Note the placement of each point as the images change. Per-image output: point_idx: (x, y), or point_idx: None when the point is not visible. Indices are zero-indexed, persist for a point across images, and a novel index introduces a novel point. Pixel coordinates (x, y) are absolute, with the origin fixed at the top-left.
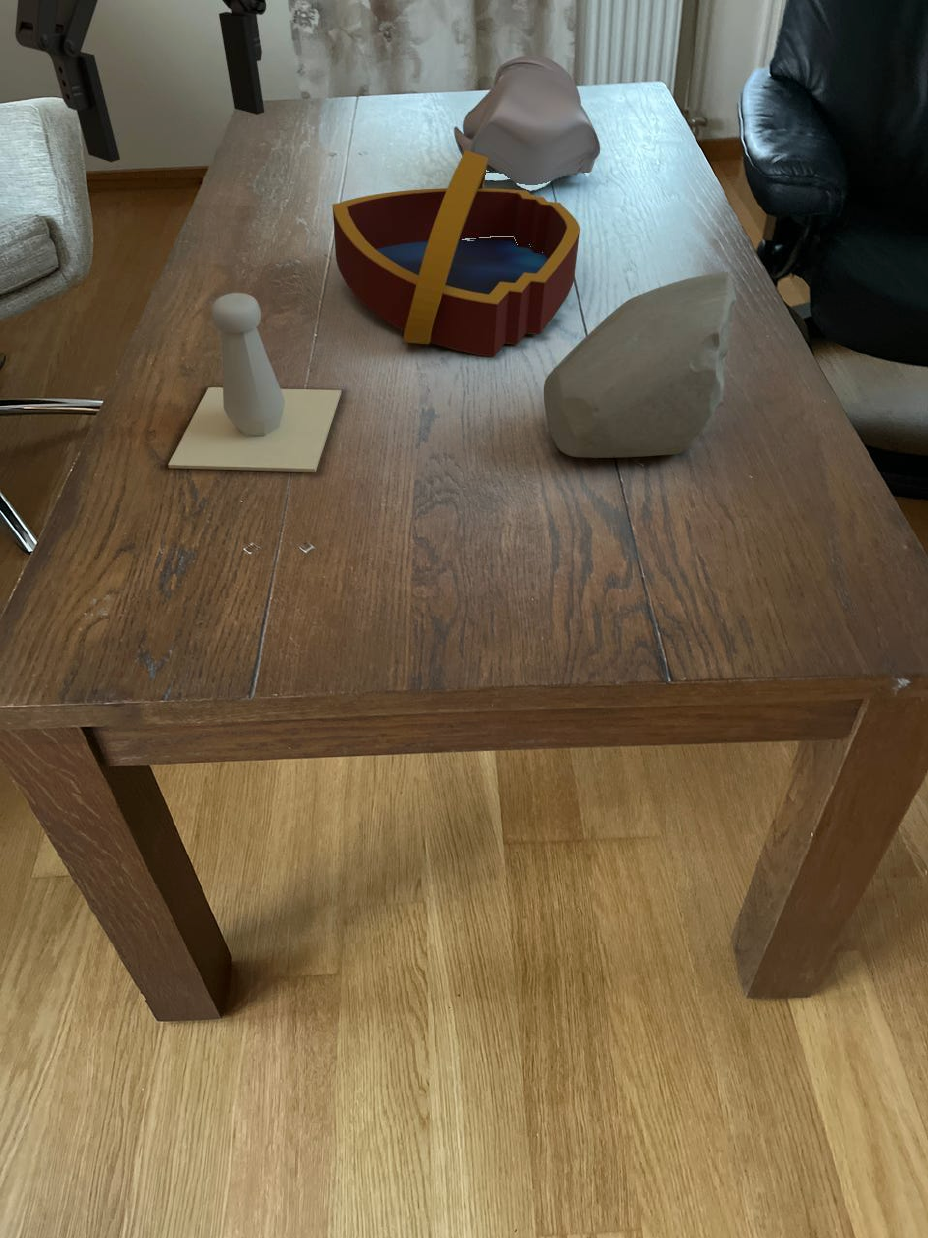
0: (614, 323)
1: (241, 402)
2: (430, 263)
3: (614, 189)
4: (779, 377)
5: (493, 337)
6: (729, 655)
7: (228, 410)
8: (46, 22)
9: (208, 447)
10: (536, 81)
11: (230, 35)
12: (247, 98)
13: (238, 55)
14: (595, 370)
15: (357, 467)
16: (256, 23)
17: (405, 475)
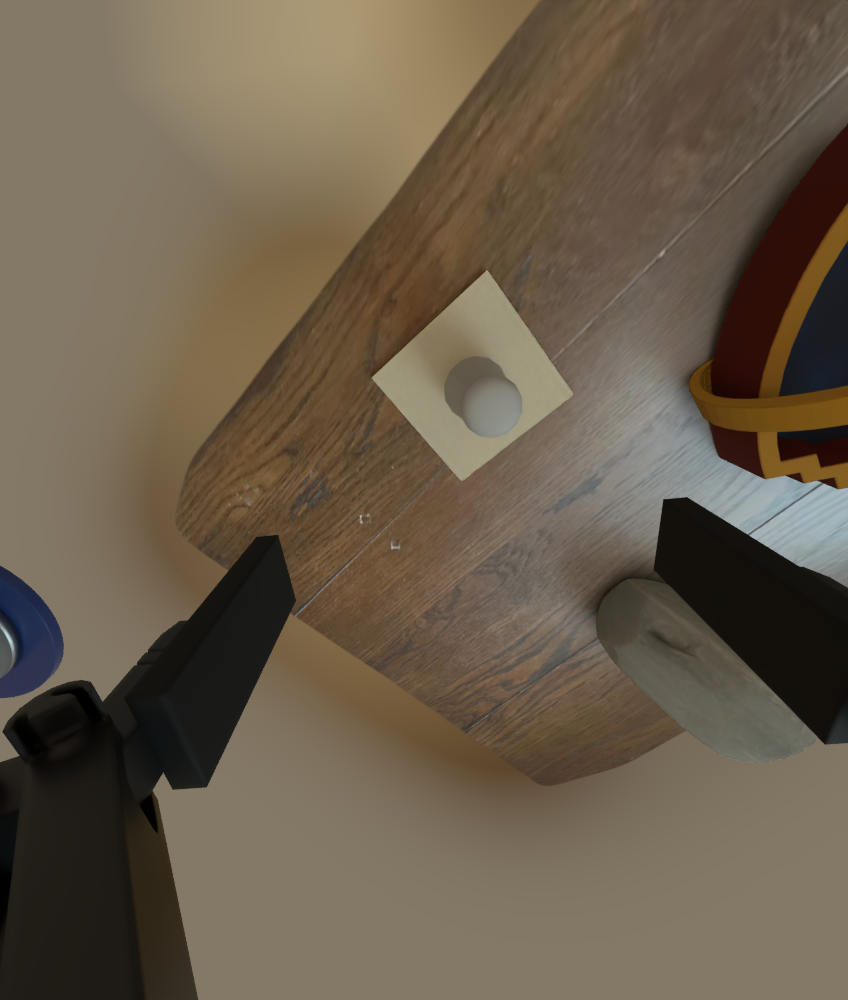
0: (698, 686)
1: (453, 408)
2: (786, 414)
3: None
4: None
5: (734, 463)
6: (496, 741)
7: (445, 388)
8: None
9: (415, 381)
10: None
11: (788, 634)
12: (672, 564)
13: (740, 617)
14: (642, 675)
15: (490, 499)
16: None
17: (507, 533)
